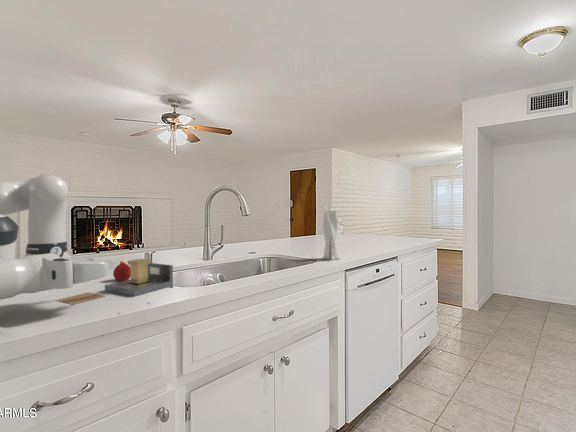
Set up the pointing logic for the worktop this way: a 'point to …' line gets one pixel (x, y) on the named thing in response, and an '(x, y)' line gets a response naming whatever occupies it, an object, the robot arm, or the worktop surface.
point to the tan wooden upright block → (139, 271)
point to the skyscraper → (330, 234)
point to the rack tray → (157, 280)
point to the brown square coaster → (80, 298)
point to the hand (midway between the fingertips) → (102, 262)
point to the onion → (122, 272)
